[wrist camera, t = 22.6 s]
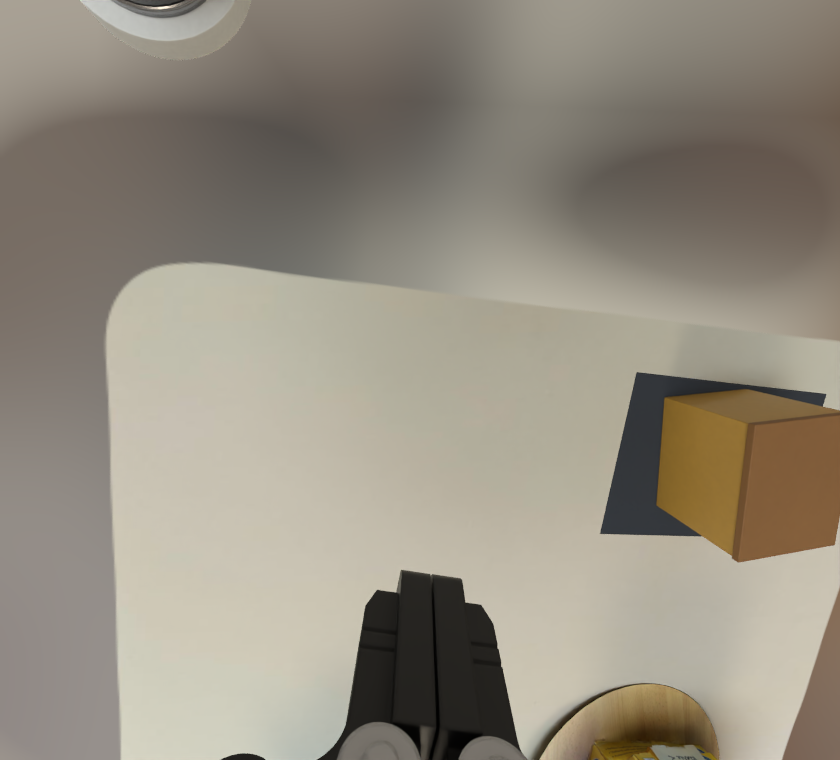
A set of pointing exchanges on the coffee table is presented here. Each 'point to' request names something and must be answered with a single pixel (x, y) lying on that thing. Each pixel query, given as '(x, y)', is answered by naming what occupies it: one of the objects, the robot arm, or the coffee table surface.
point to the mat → (658, 453)
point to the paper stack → (637, 728)
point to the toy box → (751, 471)
